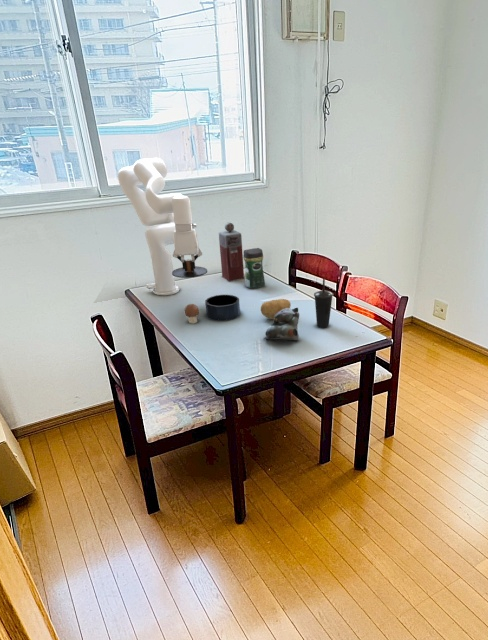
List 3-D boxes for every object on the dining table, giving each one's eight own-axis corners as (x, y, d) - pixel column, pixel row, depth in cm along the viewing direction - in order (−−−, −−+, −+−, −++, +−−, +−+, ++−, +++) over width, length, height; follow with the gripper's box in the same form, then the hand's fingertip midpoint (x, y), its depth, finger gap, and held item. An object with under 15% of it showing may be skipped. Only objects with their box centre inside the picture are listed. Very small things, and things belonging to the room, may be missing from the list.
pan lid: (170, 280, 213) (168, 266, 210) (173, 269, 226) (171, 256, 223) (207, 278, 214) (205, 263, 211) (207, 267, 228) (206, 254, 224)
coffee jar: (260, 282, 254) (258, 245, 245) (267, 286, 248) (265, 249, 239) (243, 285, 251) (240, 248, 241) (249, 289, 244) (247, 252, 235)
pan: (206, 322, 210) (204, 307, 207) (206, 309, 223) (205, 295, 219) (240, 319, 212) (239, 305, 208) (239, 307, 224) (238, 293, 221)
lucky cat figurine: (258, 338, 194) (263, 303, 193) (282, 343, 201) (288, 309, 200) (279, 340, 182) (285, 302, 181) (304, 345, 189) (310, 308, 188)
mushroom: (185, 324, 208) (183, 307, 204) (186, 319, 213) (184, 302, 209) (200, 323, 209) (197, 306, 205) (200, 318, 214) (198, 301, 210)
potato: (296, 317, 212) (296, 299, 208) (268, 325, 206) (267, 307, 202) (283, 311, 219) (283, 293, 215) (256, 318, 213) (255, 300, 209)
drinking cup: (334, 323, 206) (335, 276, 196) (329, 330, 200) (330, 282, 190) (316, 321, 208) (317, 274, 198) (311, 328, 202) (311, 280, 192)
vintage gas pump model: (230, 282, 255) (226, 226, 241) (222, 276, 264) (217, 222, 249) (246, 279, 259) (242, 224, 244) (237, 274, 267) (233, 220, 253)
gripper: (203, 224, 214) (207, 267, 223) (165, 226, 212) (171, 269, 222) (203, 228, 207) (207, 271, 217) (164, 230, 206) (170, 274, 215)
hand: (189, 270), depth 219 cm, fingers closed on pan lid, 2 cm apart
